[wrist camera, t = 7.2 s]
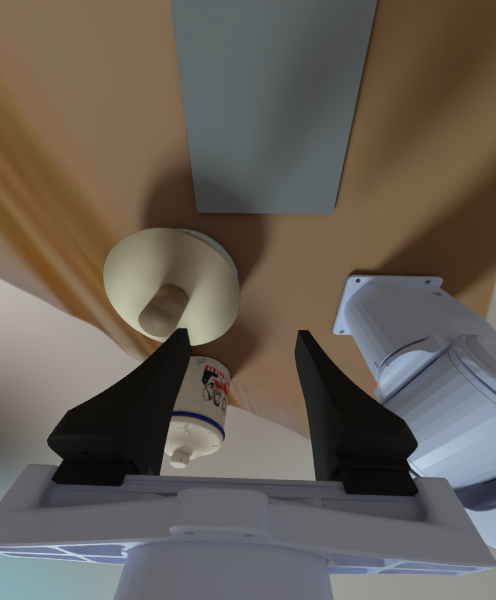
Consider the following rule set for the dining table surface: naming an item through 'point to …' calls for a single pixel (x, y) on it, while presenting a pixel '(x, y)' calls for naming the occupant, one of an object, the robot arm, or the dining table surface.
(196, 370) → the teacup with lid
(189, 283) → the lid
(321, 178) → the mat
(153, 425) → the robot arm
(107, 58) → the dining table surface
